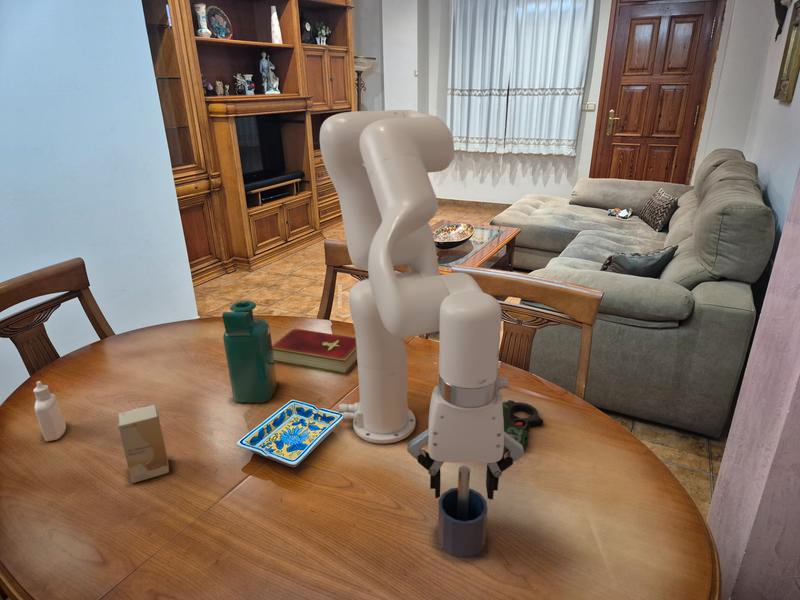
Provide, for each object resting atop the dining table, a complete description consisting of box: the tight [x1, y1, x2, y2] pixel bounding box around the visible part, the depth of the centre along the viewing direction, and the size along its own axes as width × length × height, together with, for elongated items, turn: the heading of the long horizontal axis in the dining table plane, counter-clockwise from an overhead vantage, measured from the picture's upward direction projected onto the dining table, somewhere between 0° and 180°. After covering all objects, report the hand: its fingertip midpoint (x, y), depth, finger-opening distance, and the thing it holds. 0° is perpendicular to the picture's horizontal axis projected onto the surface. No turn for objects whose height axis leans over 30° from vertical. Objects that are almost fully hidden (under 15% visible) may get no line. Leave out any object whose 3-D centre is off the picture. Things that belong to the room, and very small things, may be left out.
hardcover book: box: [272, 327, 358, 376], centre depth 129 cm, size 12×21×4 cm, turn 70°
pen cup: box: [437, 486, 488, 559], centre depth 76 cm, size 7×7×7 cm
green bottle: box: [222, 300, 278, 404], centre depth 110 cm, size 10×8×22 cm
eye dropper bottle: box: [32, 380, 67, 442], centre depth 101 cm, size 4×6×12 cm
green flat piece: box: [502, 399, 544, 453], centre depth 101 cm, size 16×2×10 cm
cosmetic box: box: [117, 403, 170, 484], centre depth 90 cm, size 6×4×12 cm
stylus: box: [457, 465, 471, 521], centre depth 74 cm, size 2×2×13 cm
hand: (463, 490), depth 73 cm, fingers open, 6 cm apart
